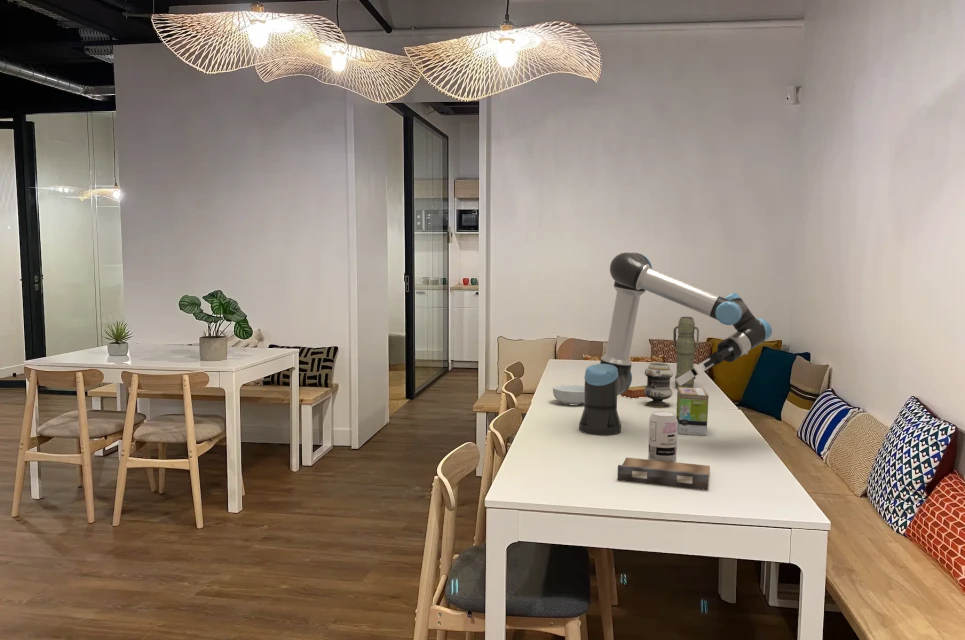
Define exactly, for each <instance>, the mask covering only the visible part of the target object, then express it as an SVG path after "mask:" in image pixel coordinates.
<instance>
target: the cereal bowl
mask: <svg viewBox="0 0 965 640" xmlns="http://www.w3.org/2000/svg"><path fill="white" fill-rule="evenodd" d="M552 394H553V396H554V398H555V400H556V401H558V402H561V403H562V404H563V403H565V404H564V405H566V404H581V403H582V404H583V403H584V397H585V384H578V383H577V384H573V383H572V384H571V383H567V384H566V383H565V384H558V385H553V386H552ZM582 404H581V405H582Z"/></svg>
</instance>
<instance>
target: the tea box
mask: <svg viewBox="0 0 965 640" xmlns="http://www.w3.org/2000/svg"><path fill="white" fill-rule="evenodd" d="M676 395H677V396H676V398H677V399H676V413H675V416H676V418H677V433H678V434H681V435H693V436H707V433H708V432H707V431H708V418H709V417H708V415H709V414H708V413H709V396H710V395H709V394H708V392H707V391H706V390H705V388H698V387H693V388H684V387H678V389H677V391H676Z"/></svg>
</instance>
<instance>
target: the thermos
mask: <svg viewBox="0 0 965 640" xmlns="http://www.w3.org/2000/svg"><path fill="white" fill-rule="evenodd" d="M695 325H696V322H695V320H694V318H693V317H692V316H681V317H679V320H678V325H677V326H675V327H674V328H673V347H674V348H675V352H676V372H675V377H674V385H675V387H674V389H675V388H676V390H678V387H684V388H694V387H695V386H694V385H695V379H694V378H692V379H691V380H689V381H687V382H686V383H684V384H683V385H681V386H679V385H678V383H677V382H676V380H675V379H677V378H678V377H680V376H682V375H683V374H685V373H686V372H688V371H689V370H692V369H693V368H694V367H695V365H694V362H695V361H694V360H695V354H696V350H697V349H699V341H700V340H699V339H700V337H699V335H700V333H699V332H700V329H699V328H698V327H697V326H695ZM695 330H696V340H695ZM677 333H678V335H677Z"/></svg>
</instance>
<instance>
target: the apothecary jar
mask: <svg viewBox="0 0 965 640" xmlns="http://www.w3.org/2000/svg"><path fill="white" fill-rule="evenodd" d="M644 375H645V376H646V377H647V380H646V381H647V383H646V385H647V387H646V388H645V389H644V394H645V395H646V396H647V397H646V398H648V399H651V401H647V402H646V403H645V406H647V407H651V408H658V409H659V408H661V409H662V408H668V407H670V404H668V403H667V401H666V402H665V401H664V400H668V399H670V398H671V397H672V396H673V393H674V392H673V390H672V389H671V378H672V377H673V376H674V372H673V370H672V369H671V367H670V364H669V363H665V362H650V363H649V364H648V367H647V368H645V370H644Z"/></svg>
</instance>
